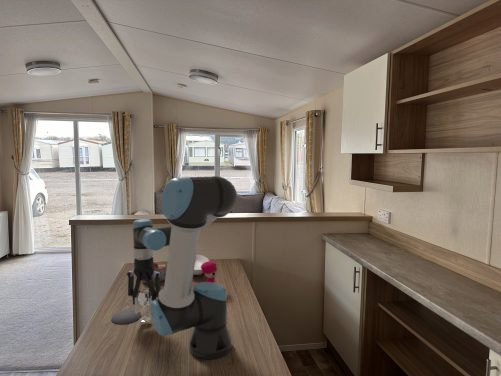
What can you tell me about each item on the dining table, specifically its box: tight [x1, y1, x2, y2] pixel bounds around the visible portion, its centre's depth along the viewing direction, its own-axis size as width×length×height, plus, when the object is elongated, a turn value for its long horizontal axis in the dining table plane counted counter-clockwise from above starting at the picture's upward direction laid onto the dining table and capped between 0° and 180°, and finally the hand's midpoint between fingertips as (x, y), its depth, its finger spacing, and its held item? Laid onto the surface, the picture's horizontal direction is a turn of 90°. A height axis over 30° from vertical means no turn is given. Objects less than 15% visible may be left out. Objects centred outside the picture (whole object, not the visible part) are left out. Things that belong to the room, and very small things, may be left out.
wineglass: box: [137, 288, 152, 323], centre depth 137 cm, size 6×6×12 cm
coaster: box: [111, 309, 142, 325], centre depth 143 cm, size 12×12×1 cm
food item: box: [141, 262, 167, 284], centre depth 186 cm, size 14×8×10 cm, turn 111°
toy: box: [201, 260, 218, 283], centre depth 173 cm, size 8×8×15 cm
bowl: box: [193, 254, 210, 276], centre depth 202 cm, size 30×15×6 cm, turn 13°
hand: (145, 312), depth 138 cm, fingers closed on wineglass, 6 cm apart
